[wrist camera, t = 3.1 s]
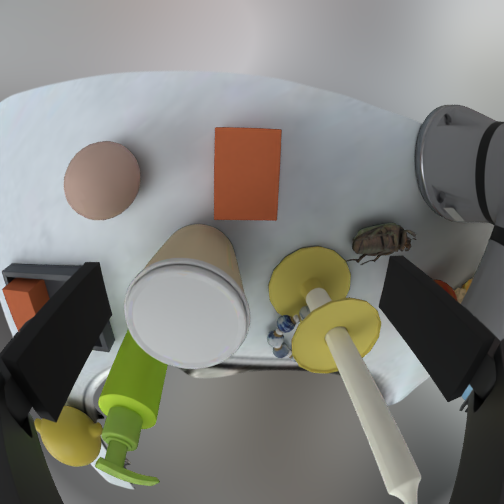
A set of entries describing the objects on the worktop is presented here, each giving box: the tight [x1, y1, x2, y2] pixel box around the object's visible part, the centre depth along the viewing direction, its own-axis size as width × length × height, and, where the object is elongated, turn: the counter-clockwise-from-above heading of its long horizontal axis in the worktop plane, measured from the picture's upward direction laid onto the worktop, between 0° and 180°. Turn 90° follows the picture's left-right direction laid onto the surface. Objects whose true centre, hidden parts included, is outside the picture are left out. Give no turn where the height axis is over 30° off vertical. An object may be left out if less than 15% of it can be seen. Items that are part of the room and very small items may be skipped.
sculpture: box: [34, 406, 103, 466], centre depth 35 cm, size 15×13×13 cm
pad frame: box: [2, 264, 115, 352], centre depth 29 cm, size 16×11×3 cm
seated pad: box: [2, 278, 49, 332], centre depth 28 cm, size 6×8×4 cm
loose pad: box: [214, 127, 282, 221], centre depth 25 cm, size 6×8×4 cm
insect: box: [344, 223, 417, 265], centre depth 28 cm, size 5×9×3 cm
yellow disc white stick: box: [268, 246, 421, 504], centre depth 19 cm, size 10×10×27 cm
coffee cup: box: [124, 224, 250, 369], centre depth 24 cm, size 9×9×12 cm
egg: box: [64, 141, 140, 220], centre depth 22 cm, size 7×7×8 cm
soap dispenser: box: [95, 329, 168, 486], centre depth 24 cm, size 6×7×20 cm
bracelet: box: [267, 305, 311, 362], centre depth 33 cm, size 10×10×2 cm
